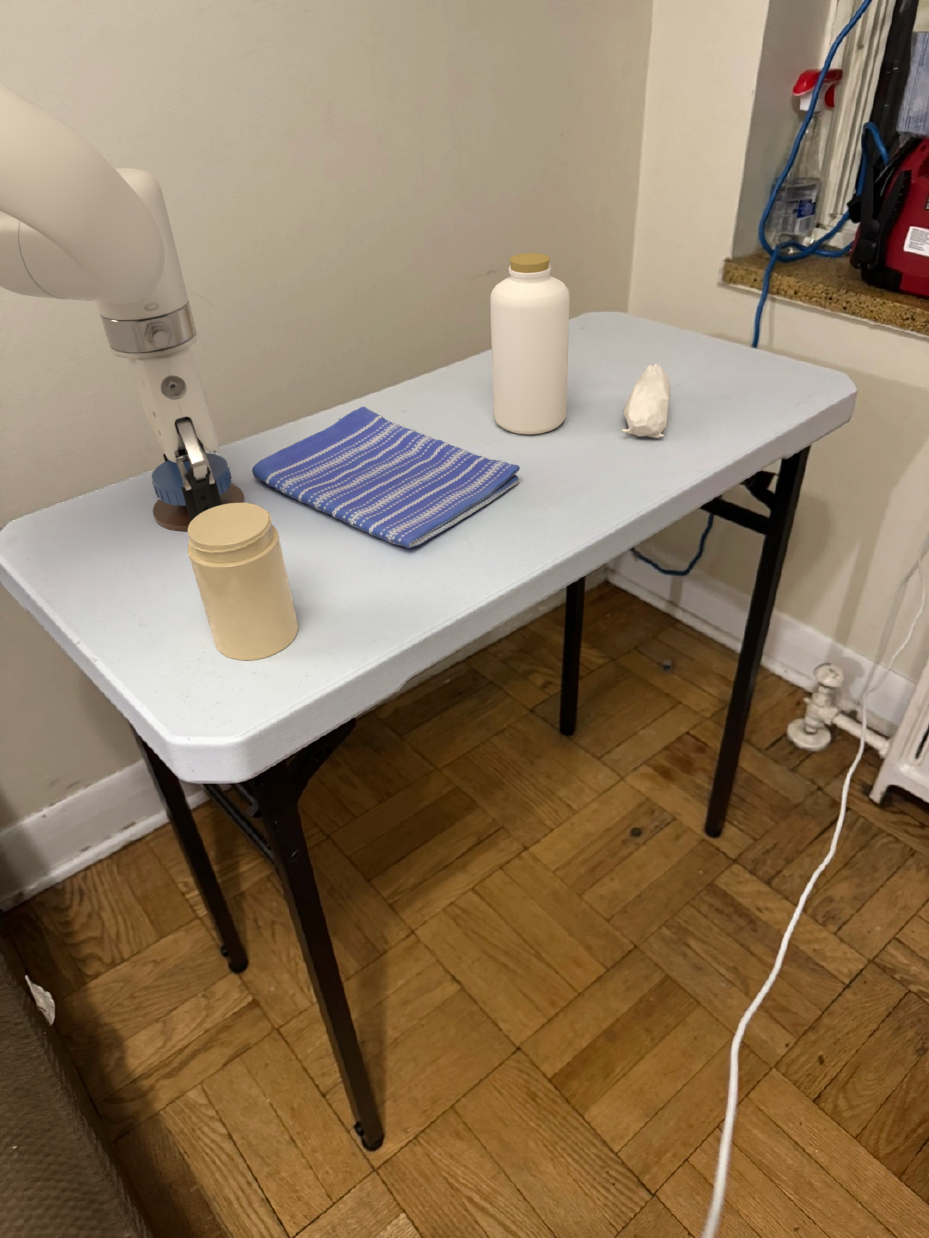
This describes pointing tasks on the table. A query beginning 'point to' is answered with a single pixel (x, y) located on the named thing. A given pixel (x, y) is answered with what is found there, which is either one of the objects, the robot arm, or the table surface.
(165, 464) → the lid
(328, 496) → the dish towel
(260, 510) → the jar
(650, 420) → the bird figurine
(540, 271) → the potion bottle
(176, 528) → the coaster
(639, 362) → the table surface
